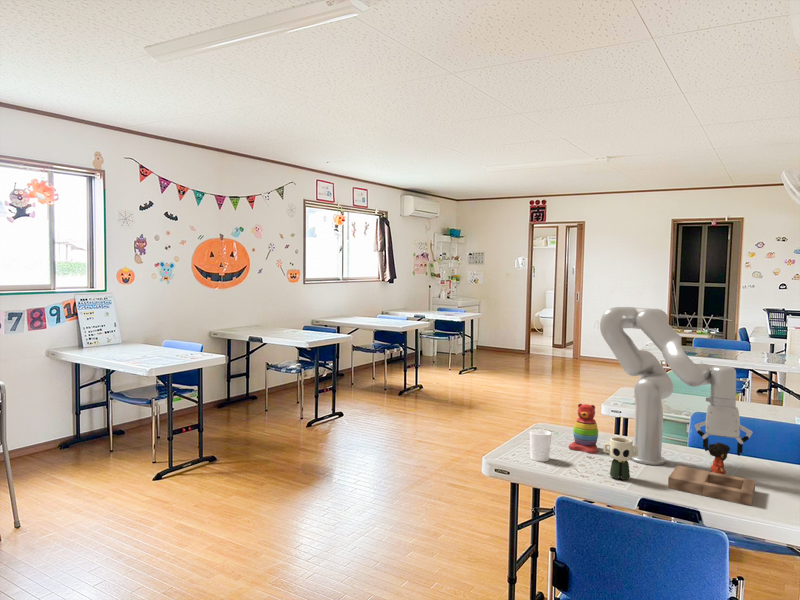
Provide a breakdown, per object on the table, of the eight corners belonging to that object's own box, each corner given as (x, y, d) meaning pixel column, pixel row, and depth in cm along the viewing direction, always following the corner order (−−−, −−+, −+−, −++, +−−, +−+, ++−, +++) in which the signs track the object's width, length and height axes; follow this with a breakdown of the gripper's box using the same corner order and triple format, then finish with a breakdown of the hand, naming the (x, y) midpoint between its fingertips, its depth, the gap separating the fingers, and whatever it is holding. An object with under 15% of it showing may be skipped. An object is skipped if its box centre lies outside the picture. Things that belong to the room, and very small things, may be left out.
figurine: (720, 481, 191) (722, 446, 191) (704, 476, 196) (706, 442, 196) (732, 479, 194) (733, 444, 194) (716, 474, 199) (718, 440, 199)
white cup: (526, 460, 208) (528, 433, 208) (530, 454, 215) (531, 428, 215) (549, 463, 205) (550, 436, 205) (551, 457, 212) (552, 431, 212)
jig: (667, 488, 183) (668, 477, 183) (676, 475, 196) (677, 465, 196) (751, 506, 170) (752, 494, 170) (754, 491, 183) (755, 480, 183)
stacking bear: (567, 449, 224) (568, 404, 224) (575, 443, 233) (577, 400, 232) (594, 454, 218) (596, 408, 218) (602, 448, 227) (604, 404, 226)
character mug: (602, 478, 190) (604, 440, 190) (602, 472, 197) (603, 435, 197) (637, 483, 187) (639, 444, 186) (636, 476, 194) (637, 438, 193)
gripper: (693, 401, 196) (692, 450, 196) (752, 407, 186) (751, 459, 186) (696, 398, 202) (695, 446, 202) (753, 403, 192) (752, 454, 193)
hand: (722, 452), depth 194 cm, fingers open, 9 cm apart
